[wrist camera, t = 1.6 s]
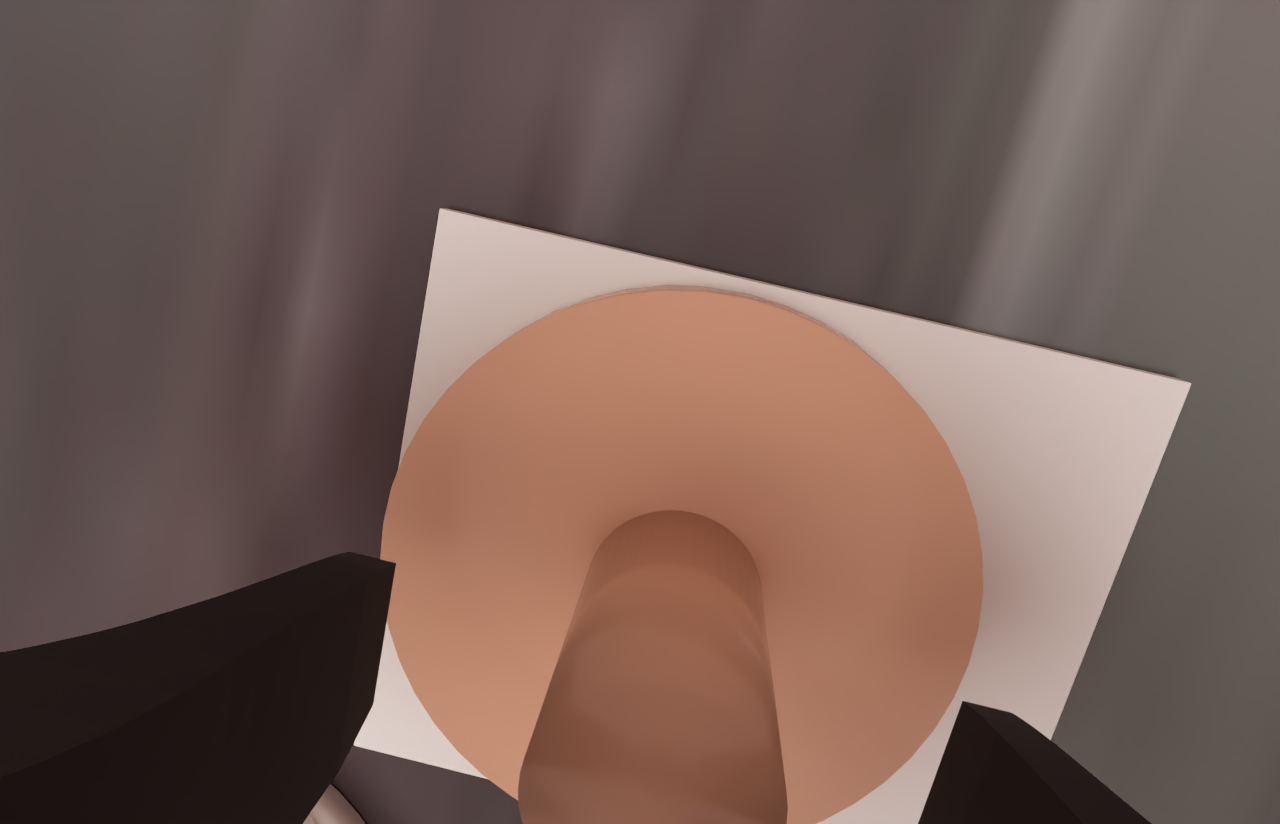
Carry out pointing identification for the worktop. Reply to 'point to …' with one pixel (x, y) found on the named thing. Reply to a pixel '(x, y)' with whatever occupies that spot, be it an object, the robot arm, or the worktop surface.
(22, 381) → the worktop surface
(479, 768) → the lid
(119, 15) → the worktop surface
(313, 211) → the worktop surface
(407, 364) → the worktop surface
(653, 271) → the mat
